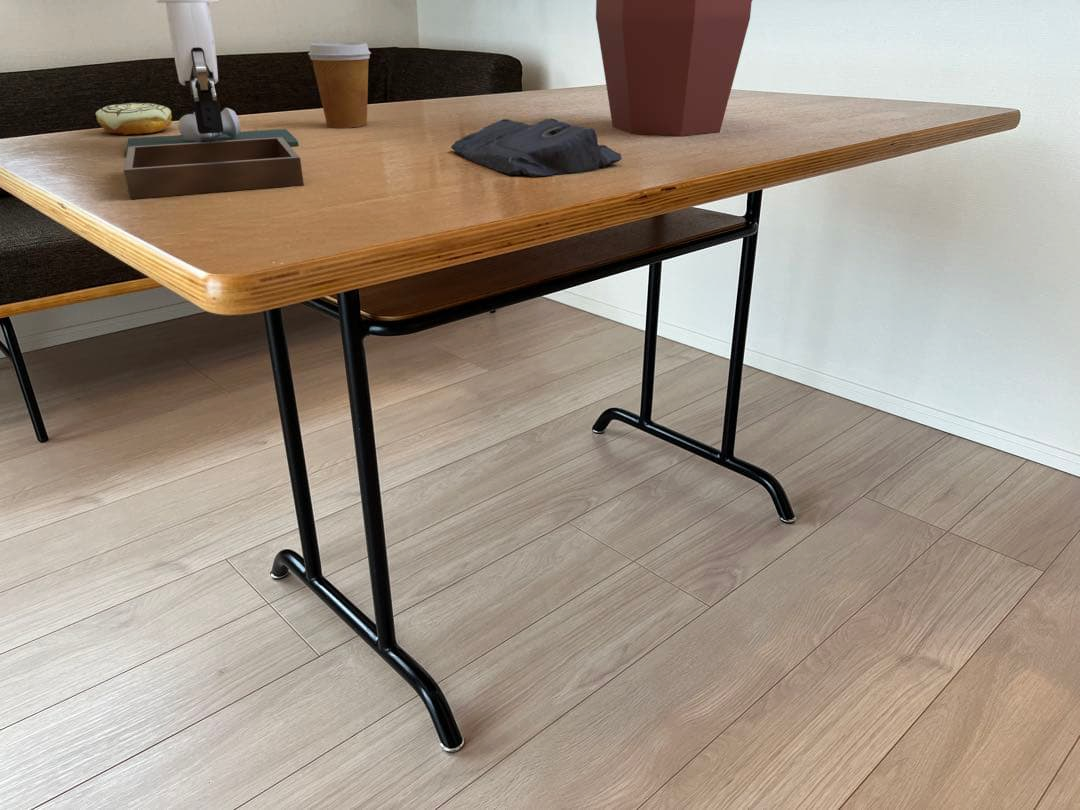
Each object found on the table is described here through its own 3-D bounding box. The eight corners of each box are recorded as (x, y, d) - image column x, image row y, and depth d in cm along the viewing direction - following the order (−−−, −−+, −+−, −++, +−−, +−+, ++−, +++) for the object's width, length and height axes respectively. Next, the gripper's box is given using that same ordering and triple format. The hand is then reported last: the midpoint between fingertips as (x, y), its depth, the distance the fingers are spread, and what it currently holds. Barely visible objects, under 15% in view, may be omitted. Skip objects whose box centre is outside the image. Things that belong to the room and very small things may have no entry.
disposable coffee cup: (361, 119, 139) (353, 41, 134) (387, 125, 133) (380, 44, 127) (307, 124, 134) (297, 43, 129) (331, 131, 127) (322, 46, 122)
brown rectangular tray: (130, 199, 86) (123, 169, 85) (133, 172, 99) (128, 146, 97) (303, 185, 92) (300, 157, 91) (285, 161, 105) (282, 136, 103)
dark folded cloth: (543, 141, 118) (543, 106, 116) (630, 167, 100) (632, 126, 98) (443, 151, 111) (441, 113, 109) (518, 179, 94) (518, 136, 92)
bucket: (775, 128, 128) (796, -58, 116) (686, 145, 114) (700, -63, 103) (651, 114, 144) (660, -51, 132) (560, 127, 130) (561, -55, 119)
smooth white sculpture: (183, 153, 114) (180, 136, 117) (244, 148, 116) (239, 131, 120) (177, 123, 111) (174, 106, 114) (239, 118, 113) (234, 102, 117)
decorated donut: (109, 138, 122) (103, 111, 120) (94, 130, 130) (88, 104, 128) (182, 131, 128) (177, 105, 126) (163, 123, 135) (158, 99, 134)
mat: (126, 157, 108) (124, 152, 108) (128, 142, 119) (127, 138, 119) (298, 145, 116) (298, 141, 115) (286, 132, 126) (286, 128, 126)
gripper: (154, -10, 114) (179, 121, 121) (154, -10, 99) (181, 138, 107) (212, -10, 116) (233, 119, 124) (220, -10, 102) (242, 135, 109)
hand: (209, 128), depth 115 cm, fingers open, 9 cm apart
